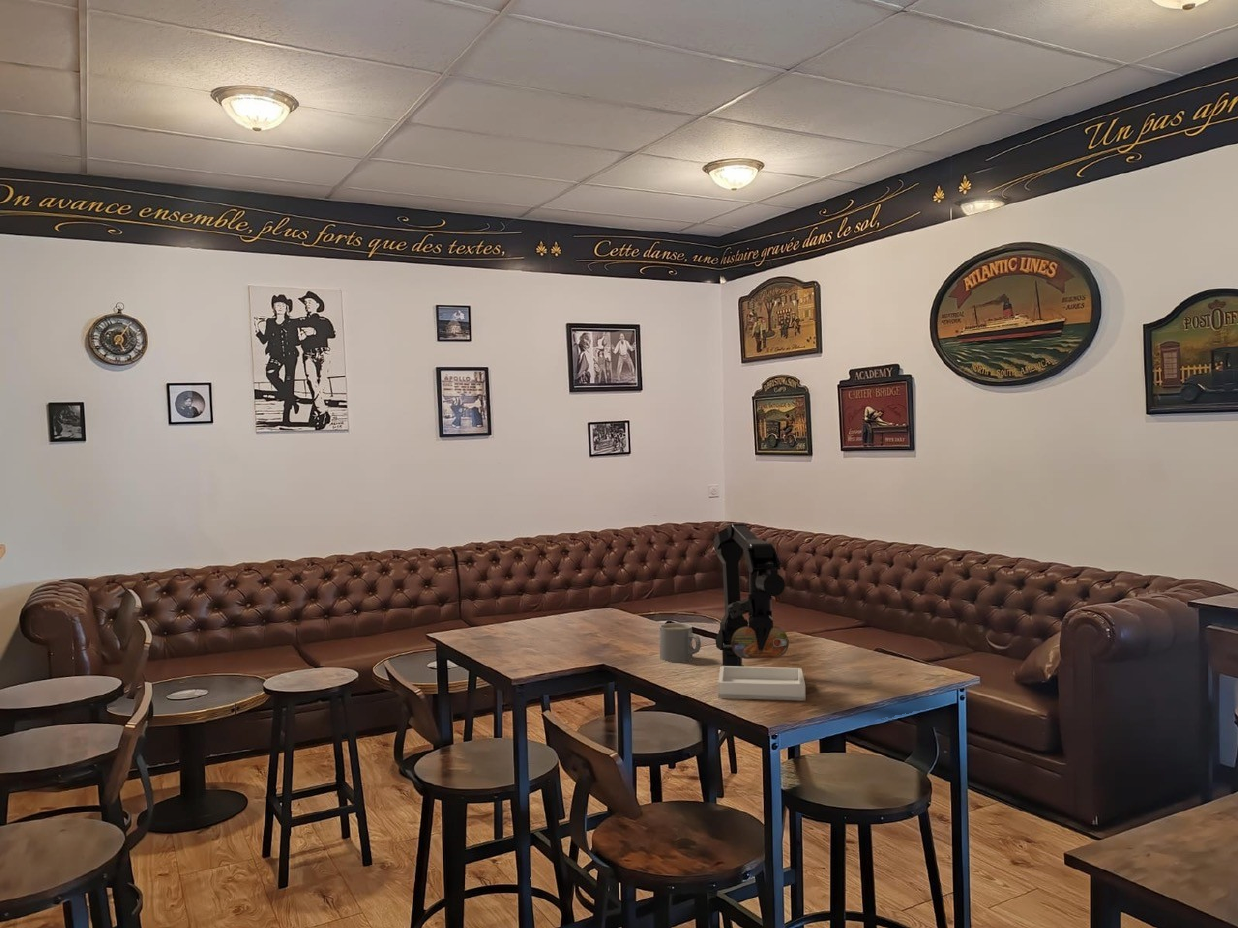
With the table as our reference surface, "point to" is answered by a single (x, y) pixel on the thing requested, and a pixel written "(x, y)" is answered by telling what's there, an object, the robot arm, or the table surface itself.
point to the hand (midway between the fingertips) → (760, 648)
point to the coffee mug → (677, 642)
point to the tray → (761, 683)
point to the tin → (748, 648)
